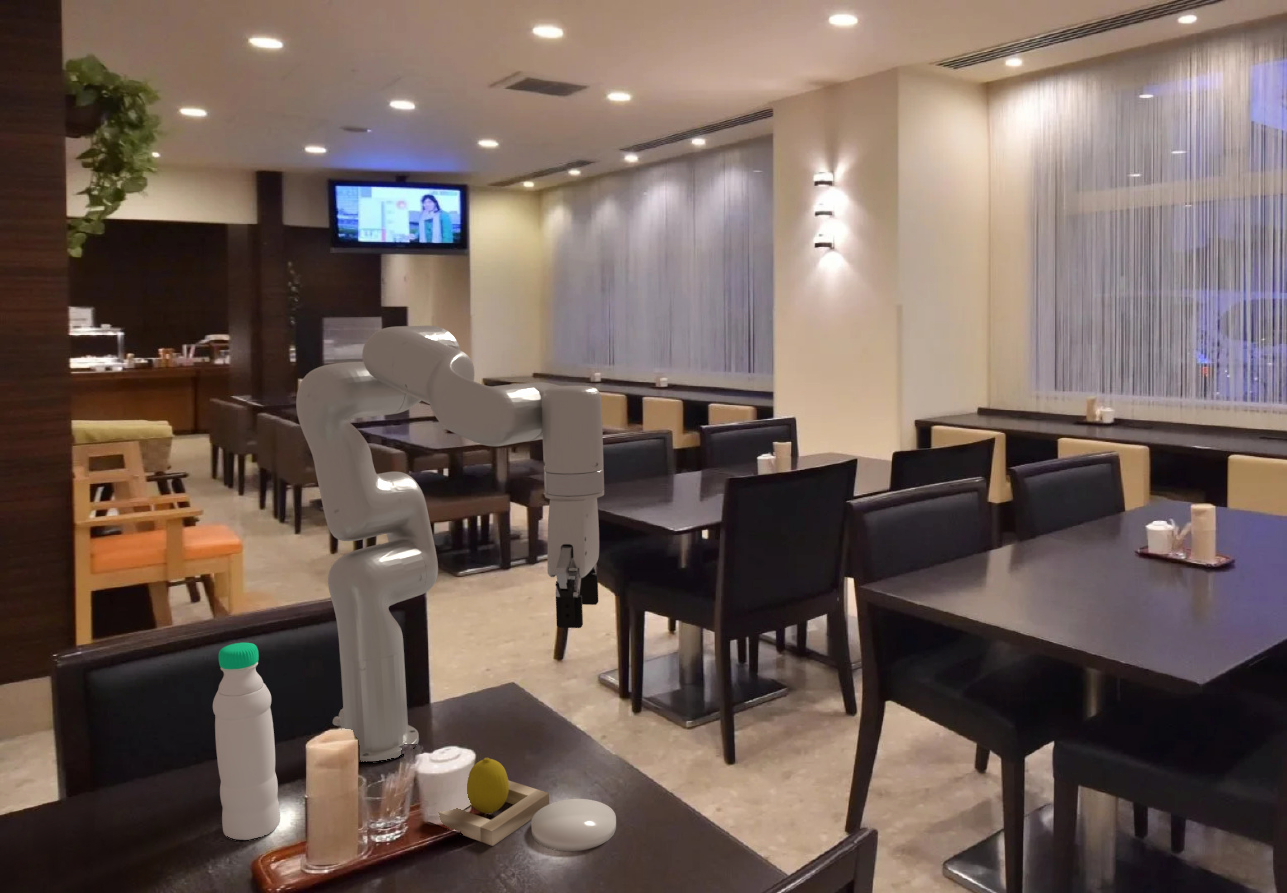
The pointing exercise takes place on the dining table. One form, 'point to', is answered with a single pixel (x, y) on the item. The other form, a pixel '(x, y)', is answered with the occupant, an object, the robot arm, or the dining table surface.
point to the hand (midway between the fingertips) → (578, 615)
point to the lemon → (487, 786)
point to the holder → (504, 823)
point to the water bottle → (245, 746)
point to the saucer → (573, 824)
